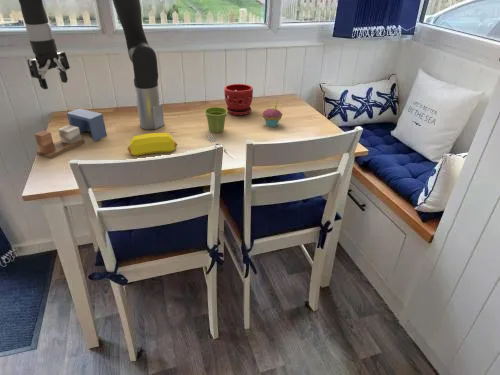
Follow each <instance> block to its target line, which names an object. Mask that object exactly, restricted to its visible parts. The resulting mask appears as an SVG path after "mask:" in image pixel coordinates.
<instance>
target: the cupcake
mask: <svg viewBox="0 0 500 375" xmlns="http://www.w3.org/2000/svg"><path fill="white" fill-rule="evenodd" d="M278 100H279V99H278V98H277V99H276V101H275V104H274V108H267V109H266V110H264V111H263V112H262V118H263V119H264V121H265V124H266V126H267V127H271V128H273V127H274V128H275V127H277V126H278V124H279V122H280V121H281V119H282V117H283V113H282V112H281V111H280V110H279V109H277V106H278Z"/></svg>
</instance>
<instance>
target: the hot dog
mask: <svg viewBox="0 0 500 375" xmlns="http://www.w3.org/2000/svg"><path fill="white" fill-rule="evenodd" d="M177 147H178V144H177V142H176V140H174V138H173V136H172V135H171V134H170V133H169V132H150V133H145V134H139V135H134V136H132V138H131V139H130V143H129V146H128V147H127V152H128V153H129V154H131V155H132V156H135V157H139V155H140V156H145V154H146V155H151V154H161V153H163V154H164V153H165V152H166V153H171V152H173V151H175V149H176V148H177Z"/></svg>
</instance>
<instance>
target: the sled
mask: <svg viewBox="0 0 500 375" xmlns="http://www.w3.org/2000/svg"><path fill="white" fill-rule="evenodd" d="M57 131H58V134H59V138H60V140H59V141H57V142H55V143H54V140H53V137H52V133H51V132H50V131H47V130H41V131H39V132H36V133H34V137H35V141H36V144H37V146H38V150H36V151H35V152H36V155H38V156H40V157H44V158H47V159H51V160H52V159H53V158H55V157H57V156H60V155H62V154H64V153H66V152H68V151H70V150H72V149H74V148H77V147H79V146H80V145H82V144H85V141H84V140H85V139H82V136H81V133H80V131H79V127H76V126H72V125H70V124H68V125H67V124H66V125H65V126H63V127H61V128H58V130H57Z"/></svg>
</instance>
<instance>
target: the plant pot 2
mask: <svg viewBox="0 0 500 375" xmlns="http://www.w3.org/2000/svg"><path fill="white" fill-rule="evenodd" d="M253 94H254V88H253V86H251V85H249V84H246V83H245V84H244V83H233V84H228V85H225V87H224V100H225V103H226V106H227V107H226V109H227V111H228V112H227V113H229V114H231V115H234V116H246V115H248V114H249V113H251V111H252V108H251V105H252V101H253V98H254V96H253Z"/></svg>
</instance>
